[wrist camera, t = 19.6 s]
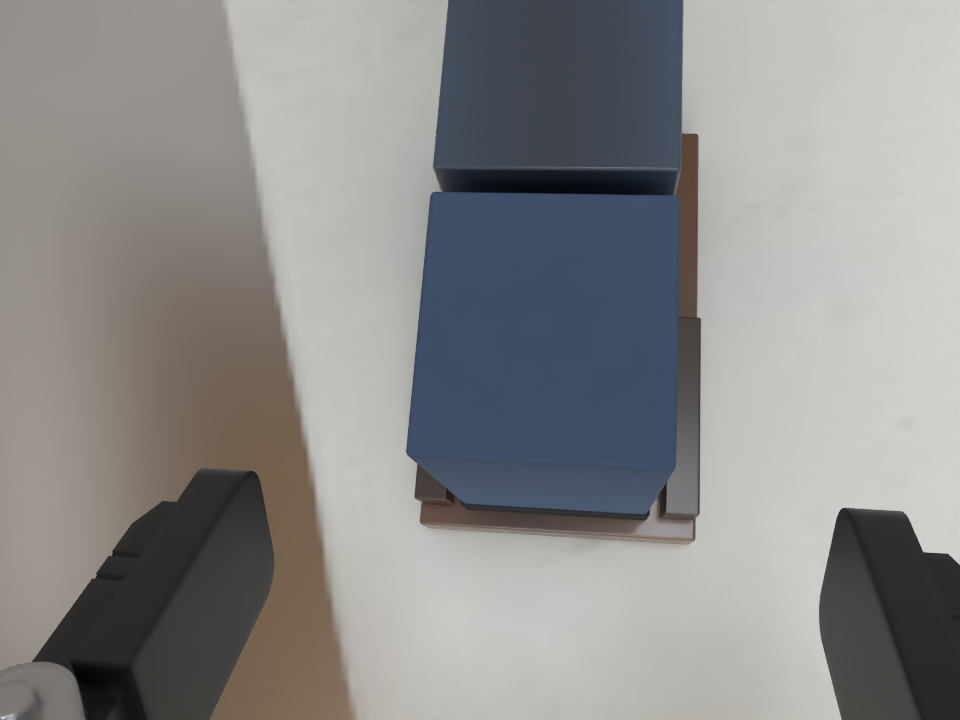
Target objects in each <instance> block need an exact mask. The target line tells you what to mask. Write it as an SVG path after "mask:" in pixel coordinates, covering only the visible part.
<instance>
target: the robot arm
mask: <svg viewBox="0 0 960 720" xmlns="http://www.w3.org/2000/svg"><path fill="white" fill-rule="evenodd" d="M273 572H274V552H273V546H272V541H271V536H270V531H269V525H268V520H267V515H266V510H265V504H264V499H263V494H262V489H261V484H260V481H259V478H258V476H257V474H256V473H255V472H253V471H243V470H226V469H208V468H203V469H201V470H199V471H198V472H197V473H196V474H195V476H194V477H193V479H192V480H191V481H190V483H189V485H188V486H187V487H186V489H185V490H184V492H183V493H182V495H181V496H180V498H179V499H178V501H177V502H168V501H162V502H161V503H159V504H158V505H157V506H155V507H154V508H153V509H151V510H150V511H149V512H147V513H146V514H145V515H143V516H142V517H141V518H139V519H138V520H137V521H135V522H134V523H133V524H132V525H131V526H130V527H129V529H128V530H127V531H126V533H125V534H124V536H123V537H122V538H121V540H120V541H119V542H118V544H117V545H116V547H115V548H114V549H113V554H112V556H108V558H107V559H106V560H105V562H104V563H103V565H102V566H101V567H100V569H99V570H98V572H97V576H96V579H92V580H91V581H90V583H89V584H88V585H87V587H86V588H85V590H84V591H83V592H82V594H81V595H80V596H79V598H78V599H77V600H76V602H75V603H74V605H73V606H72V608H71V609H70V610H69V612H68V613H67V614H66V616H65V617H64V618H63V620H62V621H61V623H60V624H59V625H58V627H57V628H56V630H55V631H54V632H53V634H52V635H51V636H50V638H49V639H48V641H47V642H46V643H45V645H44V646H43V647H42V649H41V650H40V652H39V653H38V655H37V656H36V657H35V659H34V660H33V661H32V662H29V663H24V664H19V665H16V666H13V667H9V668H7V669H4V670H2V671H0V720H210V718H211V715H212V713H213V711H214V709H215V707H216V705H217V703H218V701H219V698H220V696H221V694H222V692H223V690H224V688H225V686H226V683H227V681H228V679H229V677H230V675H231V673H232V671H233V669H234V666H235V664H236V662H237V660H238V658H239V656H240V654H241V652H242V650H243V647H244V645H245V643H246V641H247V639H248V637H249V635H250V633H251V630H252V628H253V626H254V624H255V622H256V620H257V618H258V616H259V613H260V612H261V609H262V607H263V605H264V603H265V601H266V599H267V596H268V594H269V591H270V588H271V584H272V578H273ZM819 622H820V633H821V639H822V644H823V648H824V652H825V656H826V660H827V664H828V667H829V671H830V675H831V679H832V683H833V687H834V691H835V695H836V699H837V703H838V707H839V710H840V714H841V718H842V720H960V565H959V564H958V563H957V562H956V561H955V560H954V559H953V558H952V557H951V556H950V555H949V554H940V553H925V552H923V551H922V548H921V546H920V544H919V541H918V539H917V537H916V535H915V532H914V530H913V528H912V525H911V523H910V521H909V519H908V517H907V515H906V514H905V513H904V512H901V511H887V510H871V509H854V508H842V509H841V510H840V512H839V514H838V516H837V520H836V524H835V529H834V533H833V538H832V543H831V547H830V552H829V557H828V561H827V566H826V571H825V575H824V580H823V585H822V589H821V595H820V605H819Z"/></svg>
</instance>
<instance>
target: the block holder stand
mask: <svg viewBox="0 0 960 720" xmlns="http://www.w3.org/2000/svg"><path fill="white" fill-rule="evenodd" d="M682 60H683V0H449V1H448V11H447V22H446V33H445V44H444V54H443V65H442V76H441V87H440V97H439V108H438V119H437V130H436V140H435V151H434V162H433V168H434V171H435V174H436V177H437V180H438V182H439V185H440V188H441V191H442V192H474V193H542V194H610V195H675V196H678V197H679V199H680V252H679V319H678V385H677V451H676V467H675V470H674V471H673V473H672V474H671V476H670V477H669V479H668V481H667V482H666V484H665V485H664V487H663V489H662V490H661V492H660V493H659V495H658V496H657V498H656V500H655V501H654V503H653V504H652V506H651V507H650V515H649V517H648V518H647V520H630V519H614V518H598V517H582V516H566V515H549V514H533V513H517V512H501V511H485V510H468V509H466V508H465V507H463V506H462V505H461V503H460V501H461V500H460V499H459V498H458V497H456V496H455V495H454V494H453V493H452V492H451V491H449V490H448V489H447V488H446V487H445V486H443V485H442V484H441V483H440V482H439V481H438V480H436V479H435V478H434V477H433V476H432V475H430V474H429V473H428V472H427V471H426V470H424V469H423V468H422V467H421V466H420V465H419V464H417V475H416V486H415V499H417V500H419V501H420V502H422V504H421V515H420V523H421V524H423V525H425V526H427V527H429V528H436V529H452V530H468V531H484V532H499V533H515V534H531V535H547V536H563V537H578V538H594V539H610V540H626V541H642V542H657V543H673V544H690V543H691V542H693V541H694V540H695V522H696V517H697V516H698V515H699V513H700V363H701V319H700V318H697V264H698V135H697V134H682Z"/></svg>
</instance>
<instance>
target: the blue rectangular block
mask: <svg viewBox="0 0 960 720" xmlns="http://www.w3.org/2000/svg"><path fill="white" fill-rule="evenodd" d="M679 252H680V199H679V197H678V196H675V195H610V194H542V193H474V192H433V193H432V194H431V196H430V206H429V216H428V227H427V237H426V248H425V259H424V269H423V280H422V290H421V301H420V311H419V322H418V333H417V343H416V354H415V364H414V375H413V385H412V396H411V407H410V417H409V428H408V438H407V449H406V452H407V455H408V456H409V457H410V458H411V459H413V460H414V461H415V462H416V463H417V464H419V465H420V466H421V467H422V468H423V469H424V470H426V471H427V472H428V473H429V474H430V475H432V476H433V477H434V478H435V479H436V480H438V481H439V482H440V483H441V484H442V485H443V486H445V487H446V488H447V489H448V490H449V491H451V492H452V493H453V494H454V495H455V496H456V497H458V498H459V499H460V500H461V501H460V503H461V505H462V506H463V507H465V508H466V509H468V510H485V511H501V512H517V513H533V514H549V515H566V516H582V517H598V518H614V519H630V520H647V518H648V517H649V515H650V507H651V506H652V504H653V503H654V501H655V500H656V498H657V496H658V495H659V493H660V492H661V490H662V489H663V487H664V485H665V484H666V482H667V481H668V479H669V477H670V476H671V474H672V473H673V471H674V470H675V467H676V451H677V385H678V319H679Z"/></svg>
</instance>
